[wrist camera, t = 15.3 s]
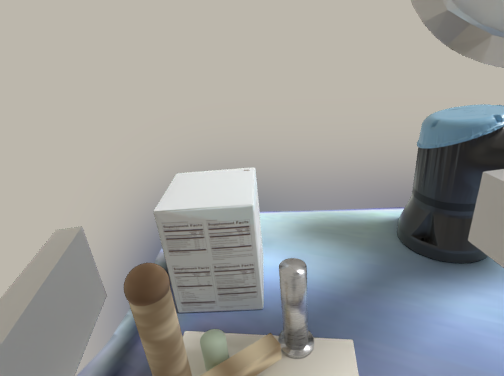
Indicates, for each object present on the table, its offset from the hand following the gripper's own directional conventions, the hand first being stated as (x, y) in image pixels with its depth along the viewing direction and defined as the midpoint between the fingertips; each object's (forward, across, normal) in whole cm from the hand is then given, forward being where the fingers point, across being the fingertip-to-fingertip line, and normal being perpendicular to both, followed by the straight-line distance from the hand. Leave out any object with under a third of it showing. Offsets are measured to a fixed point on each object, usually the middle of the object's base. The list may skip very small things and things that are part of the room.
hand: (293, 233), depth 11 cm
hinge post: (+19, +4, -29) cm, 35 cm away
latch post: (+19, -6, -29) cm, 35 cm away
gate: (+15, -5, -29) cm, 33 cm away
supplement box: (+34, -4, -30) cm, 46 cm away
